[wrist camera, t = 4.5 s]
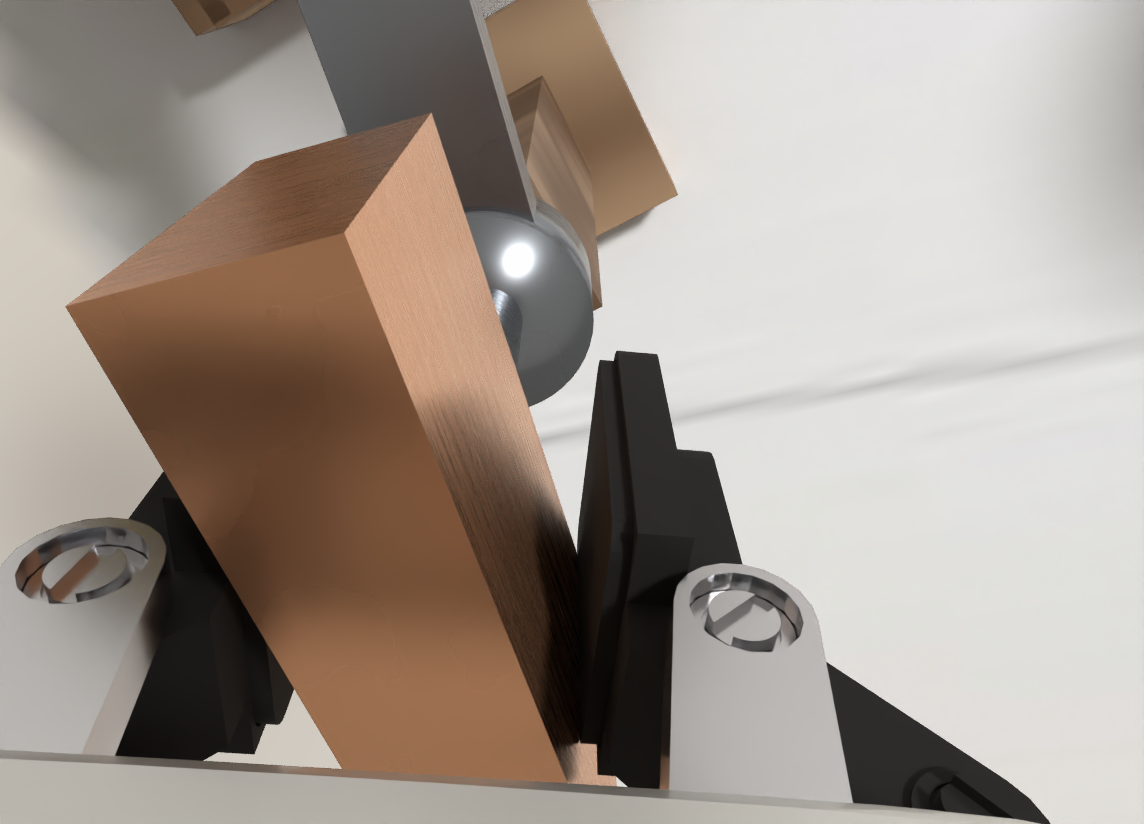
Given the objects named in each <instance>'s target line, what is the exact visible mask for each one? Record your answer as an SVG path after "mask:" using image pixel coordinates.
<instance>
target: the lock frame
mask: <svg viewBox="0 0 1144 824" xmlns="http://www.w3.org/2000/svg"><path fill="white" fill-rule="evenodd" d="M172 1H173V3H174V4H175V6H176V7H177V9H178V10H179V11H180V13H181V14H182V16H183V17H184V19H185V20H186V22H187V23H188V24H189V26H190V27H191V29H192V30H193V32H194V33H195V35H196V36H199V35H202V34H205V33H208V32H212V31H215V30H218V29H222V28H225V27H228V26H230V25H231V24H233V23H236V22H239V21H242V20H246V19H248V18H249V17H251V16H252V15H254V14H255V13H257V12H259V11H260V10H262V9H263V8H265V7H266V6H268V5H269V4H271V3H272V2H274V1H276V0H172ZM485 23H486V26H487V30H488V33H489V37H490V40H491V44H492V47H493V51H494V54H495V58H496V61H497V65H498V68H499V72H500V75H501V79H502V82H503V86H504V89H505V93H506V96H507V100H508V103H509V107H510V110H511V114H512V117H513V121H514V124H515V128H516V131H517V135H518V138H519V142H520V145H521V149H522V152H523V156H524V159H525V163H526V166H527V170H528V173H529V177H530V180H531V184H532V187H533V191H534V194H535V197H537V198H539V199H542V200H543V201H545V202H546V203H548V204H549V205H551V206H552V207H554V208H555V209H556V210H557V211H558V212H559V213H561V214H562V215H563V216H564V217H565V218H566V219H567V221H568V222H569V223H570V224H571V225H572V227H573V228H574V229H575V231H576V232H577V234H578V235H579V237H580V239H581V241H582V243H583V245H584V247H585V250H586V253H587V256H588V260H589V265H590V270H591V285H592V302H593V311H594V310H596V309H598V308H600V307H602V297H601V285H600V273H599V262H598V250H597V238H596V237H597V236H599V235H601V234H603V233H605V232H607V231H609V230H611V229H612V228H614V227H616V226H618V225H620V224H622V223H624V222H626V221H628V220H630V219H632V218H634V217H636V216H638V215H640V214H642V213H644V212H646V211H648V210H649V209H651V208H653V207H655V206H657V205H659V204H661V203H663V202H665V201H667V200H669V199H671V198H673V197H675V196H677V195H678V194H677V191H676V189H675V186H674V184H673V181H672V179H671V177H670V175H669V173H668V171H667V169H666V167H665V164H664V162H663V160H662V158H661V156H660V154H659V152H658V150H657V148H656V145H655V143H654V141H653V139H652V137H651V135H650V133H649V131H648V129H647V126H646V124H645V122H644V120H643V118H642V116H641V114H640V112H639V110H638V107H637V105H636V103H635V101H634V99H633V97H632V95H631V93H630V91H629V88H628V86H627V84H626V82H625V80H624V78H623V76H622V74H621V72H620V69H619V67H618V65H617V63H616V61H615V59H614V57H613V55H612V53H611V50H610V48H609V46H608V44H607V42H606V40H605V38H604V36H603V34H602V31H601V29H600V27H599V25H598V23H597V21H596V19H595V17H594V15H593V12H592V10H591V8H590V6H589V4H588V2H587V0H515V1H514V2H512V3H510V4H509V5H507V6H505V7H504V8H502V9H500V10H499V11H497V12H495V13H494V14H492V15H490V16H489V17H487V18H485Z"/></svg>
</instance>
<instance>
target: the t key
mask: <svg viewBox="0 0 1144 824" xmlns="http://www.w3.org/2000/svg"><path fill="white" fill-rule="evenodd" d="M297 2H298V4H299V7H300V9H301V12H302V15H303V17H304V20H305V23H306V25H307V28H308V30H309V33H310V36H311V38H312V41H313V44H314V46H315V49H316V51H317V54H318V57H319V59H320V62H321V65H322V67H323V70H324V72H325V75H326V78H327V80H328V83H329V86H330V88H331V91H332V93H333V96H334V99H335V101H336V104H337V107H338V109H339V112H340V114H341V117H342V120H343V122H344V125H345V128H346V130H347V133H348V135H349V136H346V137H342V138H339V139H335V140H331V141H328V142H324V143H321V144H317V145H314V146H310V147H306V148H303V149H299V150H296V151H292V152H289V153H285V154H281V155H278V156H274V157H271V158H267V159H263V160H260V161H256V162H254V163H253V164H252V165H250V166H249V167H248V168H247V169H245V170H244V171H243V172H241V173H240V174H239V175H237V176H236V177H235V178H233V179H232V180H231V181H229V182H228V183H227V184H226V185H224V186H223V187H222V188H220V189H219V190H218V191H216V192H215V193H214V194H212V195H211V196H210V197H208V198H207V199H206V200H205V201H203V202H202V203H201V204H199V205H198V206H197V207H195V208H194V209H193V210H191V211H190V212H189V213H187V214H186V215H185V216H184V217H182V218H181V219H180V220H178V221H177V222H176V223H174V224H173V225H172V226H170V227H169V228H168V229H166V230H165V231H164V232H163V233H161V234H160V235H159V236H157V237H156V238H155V239H153V240H152V241H151V242H149V243H148V244H147V245H145V246H144V247H143V248H142V249H140V250H139V251H138V252H136V253H135V254H134V255H132V256H131V257H130V258H128V259H127V260H126V261H124V262H123V263H122V264H121V265H119V266H118V267H117V268H115V269H114V270H113V271H111V272H110V273H109V274H107V275H106V276H105V277H103V278H102V279H101V280H100V281H98V282H97V283H96V284H94V285H93V286H92V287H90V288H89V289H88V290H86V291H85V292H84V293H82V294H81V295H80V296H79V297H77V298H76V299H75V300H73V301H72V302H71V303H69V304H68V305H67V306H66V308H67V310H68V312H69V313H70V315H71V317H72V318H73V320H74V322H75V323H76V325H77V327H78V328H79V330H80V332H81V333H82V335H83V337H84V338H85V340H86V342H87V343H88V345H89V347H90V348H91V350H92V352H93V353H94V355H95V357H96V358H97V360H98V362H99V363H100V365H101V367H102V368H103V370H104V372H105V373H106V375H107V377H108V379H109V380H110V382H111V384H112V385H113V387H114V389H115V390H116V392H117V394H118V395H119V397H120V398H121V400H122V402H123V404H124V405H125V407H126V409H127V410H128V412H129V414H130V415H131V417H132V418H133V420H134V422H135V424H136V425H137V427H138V429H139V430H140V432H141V434H142V435H143V437H144V439H145V440H146V442H147V444H148V445H149V447H150V449H151V450H152V452H153V454H154V455H155V457H156V459H157V460H158V462H159V464H160V465H161V467H162V469H163V470H164V472H165V474H166V475H167V477H168V479H169V480H170V482H171V484H172V485H173V487H174V489H175V490H176V492H177V494H178V495H179V497H180V499H181V500H182V502H183V504H184V505H185V507H186V509H187V510H188V512H189V514H190V515H191V517H192V519H193V520H194V522H195V524H196V525H197V527H198V529H199V531H200V532H201V534H202V536H203V537H204V539H205V541H206V542H207V544H208V546H209V547H210V549H211V551H212V552H213V554H214V556H215V557H216V559H217V561H218V562H219V564H220V566H221V567H222V569H223V571H224V572H225V574H226V576H227V577H228V579H229V581H230V582H231V584H232V586H233V587H234V589H235V591H236V592H237V594H238V596H239V597H240V599H241V601H242V602H243V604H244V606H245V607H246V609H247V611H248V612H249V614H250V616H251V617H252V619H253V621H254V622H255V624H256V626H257V627H258V629H259V631H260V632H261V634H262V636H263V637H264V639H265V641H266V642H267V644H268V646H269V647H270V649H271V651H272V652H273V654H274V656H275V657H276V659H277V661H278V662H279V664H280V666H281V667H282V669H283V671H284V672H285V674H286V676H287V677H288V679H289V681H290V683H291V684H292V686H293V688H294V689H295V691H296V693H297V694H298V696H299V698H300V699H301V701H302V703H303V704H304V706H305V708H306V709H307V711H308V713H309V714H310V716H311V718H312V719H313V721H314V723H315V724H316V726H317V728H318V729H319V731H320V733H321V734H322V736H323V738H324V739H325V741H326V743H327V744H328V746H329V748H330V749H331V751H332V753H333V754H334V756H335V758H336V759H337V761H338V763H339V764H340V766H341V768H342V769H348V770H364V771H381V772H397V773H413V774H430V775H446V776H462V777H479V778H495V779H511V780H526V781H541V782H557V783H572V784H587V785H602V786H617V785H616V776H606V775H597V746H596V744H581V743H580V719H579V634H578V555H577V552H576V549H575V546H574V543H573V540H572V537H571V534H570V531H569V528H568V525H567V522H566V519H565V516H564V513H563V510H562V507H561V504H560V501H559V498H558V495H557V492H556V489H555V486H554V482H553V479H552V476H551V473H550V470H549V467H548V464H547V461H546V458H545V455H544V452H543V449H542V446H541V443H540V440H539V437H538V434H537V431H536V428H535V425H534V422H533V419H532V416H531V413H530V410H529V407H530V406H532V405H535V404H537V403H539V402H542V401H543V400H545V399H547V398H549V397H550V396H552V395H553V394H555V393H556V392H557V391H559V390H560V389H561V388H562V387H563V386H564V385H565V384H566V383H567V382H568V381H569V380H570V379H571V378H572V377H573V376H574V374H575V373H576V372H577V370H578V369H579V368H580V366H581V364H582V362H583V360H584V359H585V356H586V354H587V351H588V349H589V346H590V342H591V338H592V333H593V322H594V320H593V302H592V285H591V270H590V265H589V260H588V256H587V253H586V250H585V247H584V245H583V243H582V241H581V239H580V237H579V235H578V234H577V232H576V231H575V229H574V228H573V227H572V225H571V224H570V223H569V222H568V221H567V219H566V218H565V217H564V216H563V215H562V214H561V213H559V212H558V211H557V210H556V209H555V208H554V207H552V206H551V205H549V204H548V203H546V202H545V201H543V200H542V199H539V198H537V197H535V194H534V191H533V187H532V184H531V180H530V177H529V173H528V170H527V166H526V163H525V159H524V156H523V152H522V149H521V145H520V142H519V138H518V135H517V131H516V128H515V124H514V121H513V117H512V114H511V110H510V107H509V103H508V100H507V96H506V93H505V89H504V86H503V82H502V79H501V75H500V72H499V68H498V65H497V61H496V58H495V54H494V51H493V47H492V44H491V40H490V37H489V33H488V30H487V26H486V23H485V19H484V16H483V12H482V9H481V5H480V2H479V0H297Z"/></svg>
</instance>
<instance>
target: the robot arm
mask: <svg viewBox="0 0 1144 824" xmlns="http://www.w3.org/2000/svg"><path fill="white" fill-rule="evenodd" d="M577 555H578V634H579V719H580V743H581V744H596V746H597V775H606V776H616V777H617V778H619V779H620V780H621V781H622V782H623V783H624V784H625V785H626V786H628V787H617V786H602V785H587V784H572V783H557V782H541V781H526V780H511V779H495V778H479V777H462V776H446V775H430V774H413V773H397V772H381V771H364V770H348V769H331V768H314V767H297V766H281V765H264V764H247V763H230V762H213V761H203V760H205V759H207V758H208V757H210V756H212V755H214V754H216V753H217V752H225V753H241V754H255V751H256V749H257V746H258V744H259V741H260V738H261V736H262V733H263V730H264V728H265V725H266V724H275V725H278V724H280V723H281V722H282V720H283V718H284V715H285V713H286V710H287V707H288V704H289V702H290V699H291V696H292V693H293V691H294V688H293V686H292V684H291V683H290V681H289V679H288V677H287V676H286V674H285V672H284V671H283V669H282V667H281V666H280V664H279V662H278V661H277V659H276V657H275V656H274V654H273V652H272V651H271V649H270V647H269V646H268V644H267V642H266V641H265V639H264V637H263V636H262V634H261V632H260V631H259V629H258V627H257V626H256V624H255V622H254V621H253V619H252V617H251V616H250V614H249V612H248V611H247V609H246V607H245V606H244V604H243V602H242V601H241V599H240V597H239V596H238V594H237V592H236V591H235V589H234V587H233V586H232V584H231V582H230V581H229V579H228V577H227V576H226V574H225V572H224V571H223V569H222V567H221V566H220V564H219V562H218V561H217V559H216V557H215V556H214V554H213V552H212V551H211V549H210V547H209V546H208V544H207V542H206V541H205V539H204V537H203V536H202V534H201V532H200V531H199V529H198V527H197V525H196V524H195V522H194V520H193V519H192V517H191V515H190V514H189V512H188V510H187V509H186V507H185V505H184V504H183V502H182V500H181V499H180V497H179V495H178V494H177V492H176V490H175V489H174V487H173V485H172V484H171V482H170V480H169V479H168V477H167V475H166V474H165V472H163V473H162V474H161V476H160V477H159V478H158V480H157V481H156V482H155V484H154V485H153V487H152V488H151V489H150V490H149V492H148V493H147V494H146V496H145V497H144V499H143V500H142V501H141V503H140V504H139V505H138V507H137V508H136V509H135V511H134V512H133V513H132V515H131V516H130V518H129V519H119V518H98V519H87V520H82V521H77V522H73V523H69V524H65V525H61V526H58V527H56V528H54V529H51V530H48V531H46V532H44V533H41V534H39V535H37V536H35V537H33V538H32V539H30V540H29V541H27V542H26V543H24V544H23V545H21V546H19V547H18V548H16V549H15V550H14V552H13V553H12V554H11V555H10V556H9V557H8V558H7V559H6V560H5V561H4V562H3V563H2V564H1V566H0V824H1050V822H1049V821H1048V819H1047V818H1046V817H1045V816H1044V815H1043V814H1042V812H1041V811H1040V810H1039V809H1038V808H1037V807H1036V805H1035V804H1034V803H1033V802H1032V801H1031V800H1030V799H1029V798H1028V797H1027V796H1026V795H1024V794H1023V793H1022V792H1020V791H1019V790H1018V789H1017V788H1015V787H1014V786H1013V785H1012V784H1010V783H1009V782H1008V781H1007V780H1005V779H1004V778H1002V777H1001V776H999V775H998V774H996V773H994V772H993V771H991V770H990V769H988V768H987V767H985V766H984V765H982V764H981V763H979V762H978V761H976V760H975V759H973V758H972V757H970V756H969V755H967V754H966V753H964V752H963V751H961V750H959V749H958V748H956V747H955V746H953V745H952V744H950V743H949V742H947V741H946V740H944V739H943V738H941V737H940V736H938V735H937V734H935V733H934V732H932V731H931V730H929V729H928V728H926V727H924V726H923V725H921V724H920V723H918V722H917V721H915V720H914V719H912V718H911V717H909V716H908V715H906V714H905V713H903V712H902V711H900V710H899V709H897V708H896V707H894V706H893V705H891V704H890V703H888V702H886V701H885V700H883V699H882V698H880V697H879V696H877V695H876V694H874V693H873V692H871V691H870V690H868V689H867V688H865V687H864V686H862V685H861V684H859V683H858V682H856V681H855V680H853V679H851V678H850V677H848V676H847V675H845V674H844V673H842V672H841V671H839V670H838V669H836V668H835V667H833V666H832V665H830V664H829V663H827V662H826V658H825V653H824V648H823V642H822V637H821V632H820V627H819V621H818V619H817V616H816V614H815V612H814V609H813V607H812V605H811V604H810V603H809V601H808V600H807V599H806V598H805V597H804V595H803V594H802V593H801V592H800V591H799V590H798V589H796V588H795V587H794V586H792V585H791V584H789V583H788V582H787V581H785V580H784V579H782V578H780V577H778V576H776V575H774V574H771V573H769V572H767V571H765V570H763V569H759V568H755V567H751V566H747V565H743V564H742V561H741V557H740V553H739V550H738V546H737V542H736V539H735V535H734V531H733V527H732V524H731V520H730V516H729V513H728V509H727V505H726V501H725V498H724V494H723V490H722V487H721V483H720V479H719V476H718V472H717V468H716V464H715V461H714V458H713V456H712V453H710V452H704V451H692V450H680V449H677V447H676V443H675V438H674V433H673V428H672V423H671V418H670V413H669V408H668V403H667V398H666V394H665V389H664V384H663V379H662V374H661V369H660V364H659V359H658V356H657V354H648V353H637V352H625V351H616V354H615V358H614V361H606V360H600V362H599V366H598V373H597V381H596V389H595V397H594V405H593V413H592V421H591V429H590V437H589V445H588V453H587V461H586V469H585V477H584V485H583V493H582V501H581V509H580V517H579V526H578V541H577Z"/></svg>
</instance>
